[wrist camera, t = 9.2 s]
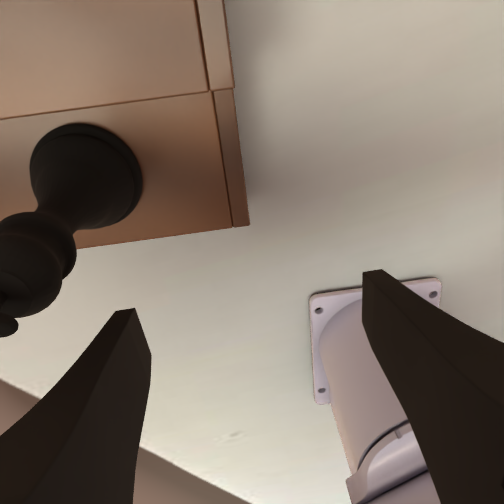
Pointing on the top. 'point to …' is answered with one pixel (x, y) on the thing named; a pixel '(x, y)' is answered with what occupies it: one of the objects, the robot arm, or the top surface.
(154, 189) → the step rack
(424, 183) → the top surface
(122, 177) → the chess piece
